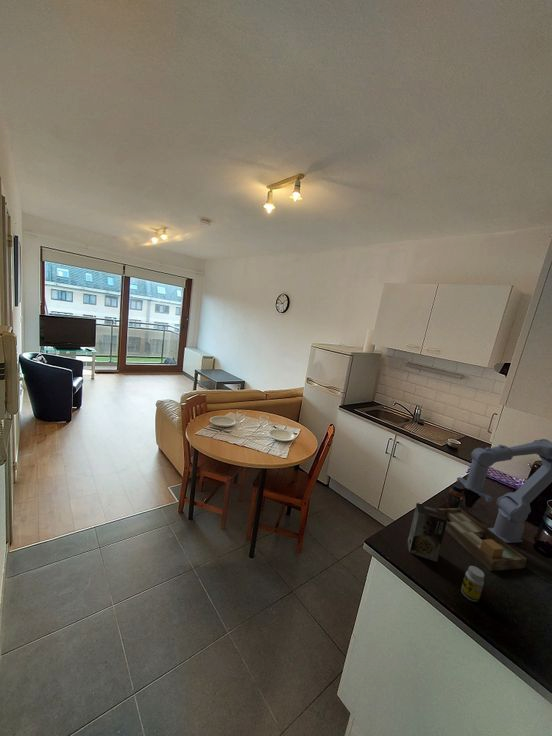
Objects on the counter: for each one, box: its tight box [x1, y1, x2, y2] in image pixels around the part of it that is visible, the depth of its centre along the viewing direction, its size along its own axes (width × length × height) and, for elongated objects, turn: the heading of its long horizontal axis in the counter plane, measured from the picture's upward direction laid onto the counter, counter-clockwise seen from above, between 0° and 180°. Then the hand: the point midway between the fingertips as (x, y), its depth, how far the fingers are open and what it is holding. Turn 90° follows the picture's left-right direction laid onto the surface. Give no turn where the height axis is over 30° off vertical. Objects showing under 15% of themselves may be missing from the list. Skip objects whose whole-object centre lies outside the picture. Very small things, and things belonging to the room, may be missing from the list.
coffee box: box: [407, 502, 448, 563], centre depth 102 cm, size 9×6×16 cm
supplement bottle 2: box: [460, 565, 485, 602], centre depth 87 cm, size 5×5×8 cm
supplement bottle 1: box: [445, 483, 465, 509], centre depth 134 cm, size 6×6×11 cm
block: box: [480, 539, 504, 559], centre depth 103 cm, size 4×4×4 cm
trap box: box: [437, 507, 528, 572], centre depth 114 cm, size 16×28×4 cm, turn 14°
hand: (468, 506), depth 120 cm, fingers closed
